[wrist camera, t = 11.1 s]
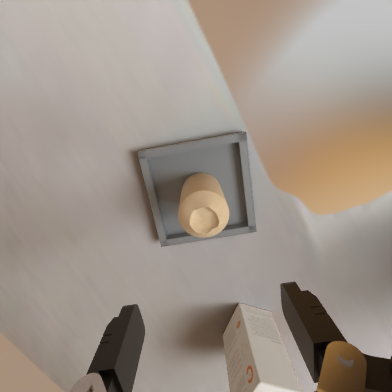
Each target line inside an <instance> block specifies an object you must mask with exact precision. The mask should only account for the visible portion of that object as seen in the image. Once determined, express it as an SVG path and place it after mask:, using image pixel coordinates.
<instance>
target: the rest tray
mask: <svg viewBox="0 0 392 392" xmlns="http://www.w3.org/2000/svg"><path fill="white" fill-rule="evenodd" d="M137 154H138V158H139V162H140V166H141V170H142V174H143V178H144V182H145V186H146V190H147V193H148V197H149V201H150V205H151V209H152V213H153V217H154V221H155V225H156V229H157V233H158V237H159V241H160V245H161V247H163V246H170V245H176V244H182V243H188V242H195V241H201V240H207V239H213V238H220V237H226V236H232V235H239V234H245V233H251V232H256V224H255V214H254V204H253V195H252V185H251V176H250V166H249V156H248V147H247V137H246V132H237V133H232V134H226V135H221V136H215V137H210V138H204V139H199V140H193V141H188V142H182V143H177V144H171V145H166V146H160V147H154V148H149V149H143V150H140V151H138V152H137ZM196 173H208V174H210V175H212V176H213V177H215V178H216V179H217V181H218V182H219V184H220V186H221V189H222V192H223V194H224V197H225V199H226V202H227V205H228V208H229V220H228V223H227V225H226V226H225V228H224V229H223V230H222V231H221V232H219V233H218V234H216V235H214V236H212V237H207V238H200V237H195V236H192V235H190V234H189V233H187V232H186V231H185V230H184V229H183V228H182V226H181V225H180V223H179V219H178V209H179V203H180V197H181V191H182V187H183V184H184V182H185V181H186V179H187V178H188V177H190V176H191V175H193V174H196Z"/></svg>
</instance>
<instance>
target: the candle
mask: <svg viewBox="0 0 392 392" xmlns="http://www.w3.org/2000/svg"><path fill="white" fill-rule="evenodd" d="M178 219H179V223H180V225H181V226H182V228H183V229H184V230H185V231H186V232H187V233H189V234H190V235H192V236H195V237H200V238H207V237H212V236H214V235H216V234H218V233H219V232H221V231H222V230H223V229H224V228H225V226H226V225H227V223H228V220H229V208H228V205H227V202H226V199H225V197H224V194H223V192H222V189H221V186H220V184H219V182H218V181H217V179H216V178H215V177H213V176H212V175H210V174H208V173H196V174H193V175H191V176H190V177H188V178H187V179H186V181H185V182H184V184H183V187H182V191H181V197H180V203H179V209H178Z"/></svg>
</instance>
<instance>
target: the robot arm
mask: <svg viewBox="0 0 392 392" xmlns="http://www.w3.org/2000/svg"><path fill="white" fill-rule="evenodd" d="M280 287H281V301H282V309H283V313H284V316H285V319H286V321H287V323H288V326H289V328H290V330H291V332H292V334H293V337H294V339H295V341H296V343H297V346H298V348H299V350H300V352H301V354H302V357H303V359H304V361H305V363H306V366H307V368H308V370H309V372H310V375H311V377H312V379H313V381H314V383H317V382H318V386H317V390H316V392H392V356H391V359H385V358H380V357H374V356H369V355H366V354H364V353H362V352H361V351H360V350H359V349H358V348H356V347H355V346H353V345H352V344H349V343H348V342H347V341H346V340H345V338H344V337H343V335H342V334H341V332H340V331H339V329H338V328H337V326H336V325H335V323H334V322H333V320H332V319H331V317H330V316H329V315H328V314H327V312H326V310H325V309H324V307H323V306H322V304H321V303H320V301H319V300H318V298H317V297H316V296H315V295H313V294H312V293H311V292H309V291H308V290H306V291H301V290H300V289H299V287H298V285H297V284H296V282H289V283H282V284H281V285H280ZM144 336H145V326H144V323H143V319H142V316H141V313H140V310H139V307H138V305H137V304H134V305H127V306H123V307H122V309H121V312H120V314H119V317H114V318H113V319H112V321H111V322H110V323H109V324H108V325H107V327H106V330H105V332H104V334H103V337H102V339H101V341H100V345H99V346H98V349H97V351H96V353H95V356H94V358H93V360H92V363H91V365H90V367H89V370H88V372H87V374H86V375H85V376H83V377H82V378H80V379H79V380H78V381H77V382H76V383H75V384H74V386H73V387H72V389H71V390H70V392H132V388H133V384H134V380H135V375H136V371H137V367H138V363H139V358H140V354H141V350H142V345H143V341H144ZM314 392H315V391H314Z"/></svg>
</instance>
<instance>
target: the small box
mask: <svg viewBox="0 0 392 392" xmlns="http://www.w3.org/2000/svg"><path fill="white" fill-rule="evenodd" d="M223 343H224V350H225V356H226V364H227V371H228V379H229V386H230V392H303V389H302V387H301V384H300V382H299V379H298V377H297V374H296V372H295V370H294V367H293V365H292V362H291V360H290V357H289V355H288V352H287V350H286V347H285V345H284V343H283V340H282V338H281V335H280V333H279V330H278V328H277V325H276V323H275V320H274V318H273V316H272V313H271V312H270V311H267V310H263V309H260V308H256V307H253V306H249V305H245V304H242V303H238V305H237V307H236V309H235V311H234V313H233V315H232V317H231V319H230V321H229V323H228V325H227V328H226V330H225V332H224V334H223Z"/></svg>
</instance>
